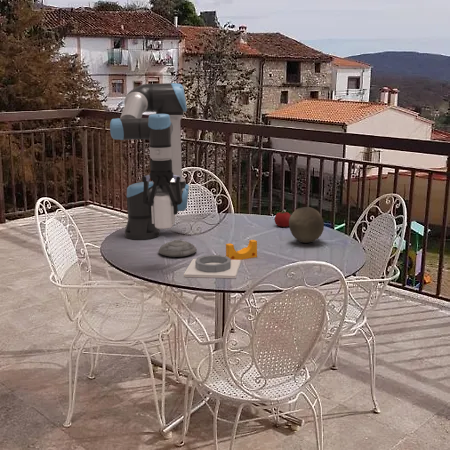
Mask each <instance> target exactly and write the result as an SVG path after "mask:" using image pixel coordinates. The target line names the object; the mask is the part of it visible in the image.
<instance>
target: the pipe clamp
mask: <svg viewBox="0 0 450 450" xmlns="http://www.w3.org/2000/svg"><path fill="white" fill-rule="evenodd" d="M225 256H227V257H229V258H230V259H231V260H241V261H242V260H247V259H254V258H257V257H258V240H255V239H249V240H248V245H247V247H242V248H241V249H239V250H236V249H235V245H234V244H232V242H231V243H225Z"/></svg>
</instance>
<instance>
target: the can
mask: <svg viewBox="0 0 450 450" xmlns="http://www.w3.org/2000/svg"><path fill="white" fill-rule="evenodd" d="M171 206H172V201H171V198H170V196H169V193H157V194H155V197H154V219H155V227H156V228H157V229H159V230H168V229H172V227H173V226H174V224H172V220H171Z"/></svg>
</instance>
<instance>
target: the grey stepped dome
mask: <svg viewBox="0 0 450 450" xmlns="http://www.w3.org/2000/svg"><path fill="white" fill-rule="evenodd" d="M197 251H198V250H197V247H196V246H195V245H194V244H193V243H191V242H189V241H187V240H186V241H185V240H181V239H176V240H171V241H168V242H166V243H164V244H162V245H161V246H160V248H158V253H159V254H160V255H162V256H165V257H171V258H172V257H173V258H177V257H187V256H191V255H193V254H195V253H196V252H197Z"/></svg>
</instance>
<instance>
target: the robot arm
mask: <svg viewBox="0 0 450 450" xmlns="http://www.w3.org/2000/svg"><path fill="white" fill-rule="evenodd" d="M123 102H124V103H123V104H124V107H123V110H122V112H121V114H120V118H119V117H117V118H112V119H111V120H110V122H109V123H110V124H109V133H110V136H111V138H112V139H113V140H121V141H124V140H125V141H126V140H127V141H128V140H131V141H132V140H148V141H149V158H150V161H149V163H150V173H149V174H148V175H143V176H142V181H141V182H140V181H139V182H136V183H131V184H130V185H128V186H127V188H126V205H127V222H126V225H125V229H124V237H125V238H127V239H129V240H135V241H136V240H139V241H142V240H143V241H144V240H151V239H155V238H157V237H159V236H160V235H161V232H160V230H161V229H157V228H156V227H155V219H154V197H155V194H157V193H169V196H170V198H171V201H172V206H171V220H172V224H173V225H174V224H176V215H178V213H179V212H184V211H186V210H187V207H188V200H189V192H190V191H189V189H190V188H189V187H190V184H187V183H186V179H185V178H184V177H183V171H182V170H183V168H182V167H183V165H182V164H183V163H182V138H181V137H182V135H181V133H182V132H181V131H182V130H181V119H182V118H183V117H184V116H185V115H184V114H185V113H186V112H187V111H188V107H187V101H186V95H185V88H184V86H183V85H182V84H181V83H174V82H173V83H172V82H170V83H167V82H165V83H163V82H162V83H144V84H141V85H140V84H139V85H138V86H136V87H134V88H133V89H131V90H130V91H128V93H127V94H126V96H125V98H124V101H123ZM144 113H151V114H149V115H148V117H143V114H144ZM152 113H153V114H152ZM150 179H151V181H150Z"/></svg>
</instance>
